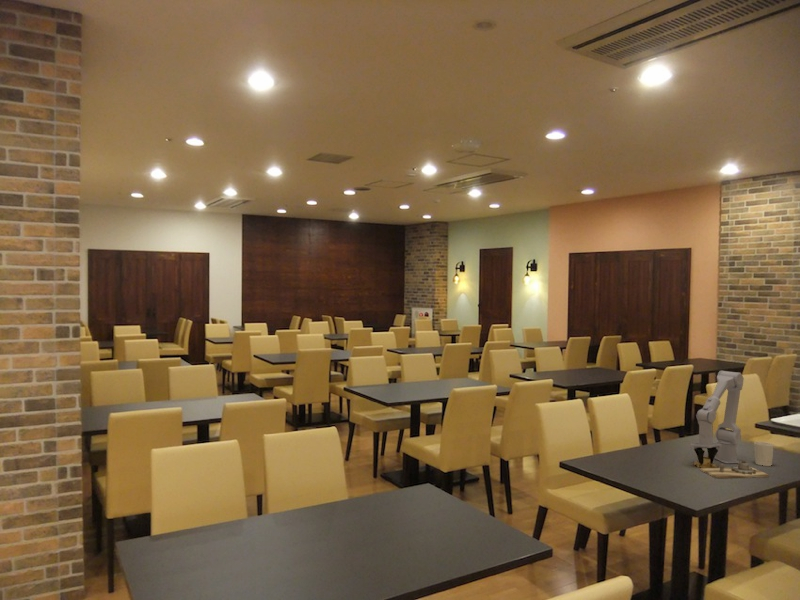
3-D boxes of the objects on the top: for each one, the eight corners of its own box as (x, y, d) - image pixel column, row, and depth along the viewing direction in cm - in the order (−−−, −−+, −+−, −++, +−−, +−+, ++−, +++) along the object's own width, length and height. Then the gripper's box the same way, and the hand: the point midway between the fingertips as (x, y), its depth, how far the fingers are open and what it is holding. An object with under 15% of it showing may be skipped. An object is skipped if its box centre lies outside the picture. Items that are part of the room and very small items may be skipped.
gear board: (700, 470, 270) (700, 457, 270) (751, 469, 272) (751, 456, 272) (716, 478, 258) (716, 465, 258) (769, 477, 260) (769, 463, 260)
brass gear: (690, 463, 281) (690, 455, 281) (708, 463, 282) (709, 454, 282) (702, 469, 271) (702, 461, 271) (721, 469, 272) (721, 460, 272)
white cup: (770, 462, 282) (770, 442, 282) (775, 467, 275) (775, 446, 275) (752, 461, 285) (752, 441, 285) (756, 465, 278) (756, 444, 277)
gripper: (696, 437, 272) (696, 466, 272) (725, 436, 273) (725, 465, 273) (687, 433, 279) (687, 461, 279) (716, 433, 280) (716, 461, 280)
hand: (705, 463), depth 276 cm, fingers closed on brass gear, 4 cm apart
